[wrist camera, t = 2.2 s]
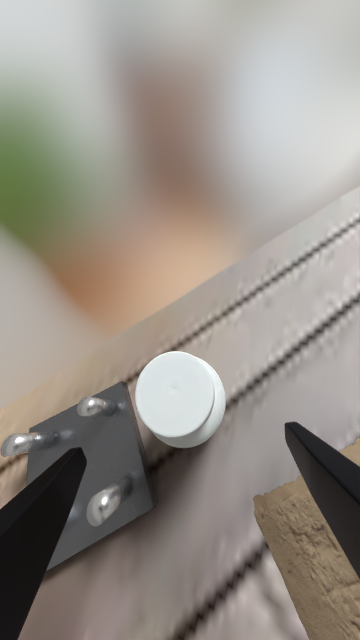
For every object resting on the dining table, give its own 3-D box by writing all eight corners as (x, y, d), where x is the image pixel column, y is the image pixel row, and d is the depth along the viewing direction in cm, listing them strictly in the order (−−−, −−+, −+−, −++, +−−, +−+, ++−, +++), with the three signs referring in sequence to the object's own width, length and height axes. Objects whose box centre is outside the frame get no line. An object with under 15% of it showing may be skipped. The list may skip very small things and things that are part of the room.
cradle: (157, 501, 13) (134, 536, 9) (37, 572, 13) (-46, 644, 9) (126, 383, 19) (102, 373, 15) (40, 427, 18) (-11, 430, 14)
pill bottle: (232, 421, 15) (255, 423, 7) (178, 448, 15) (136, 485, 7) (205, 367, 18) (198, 323, 10) (159, 389, 18) (112, 363, 9)
